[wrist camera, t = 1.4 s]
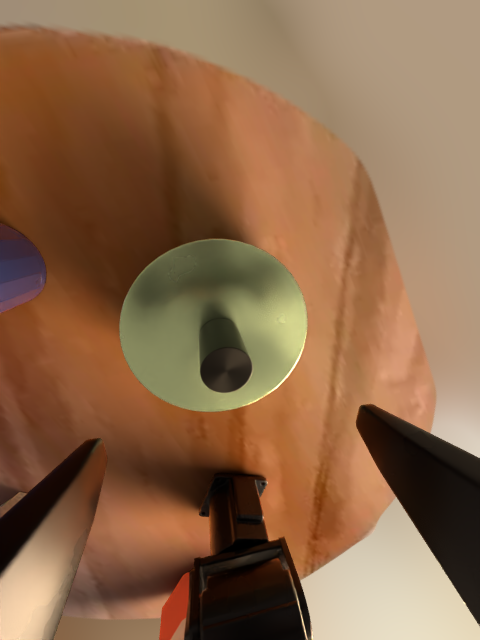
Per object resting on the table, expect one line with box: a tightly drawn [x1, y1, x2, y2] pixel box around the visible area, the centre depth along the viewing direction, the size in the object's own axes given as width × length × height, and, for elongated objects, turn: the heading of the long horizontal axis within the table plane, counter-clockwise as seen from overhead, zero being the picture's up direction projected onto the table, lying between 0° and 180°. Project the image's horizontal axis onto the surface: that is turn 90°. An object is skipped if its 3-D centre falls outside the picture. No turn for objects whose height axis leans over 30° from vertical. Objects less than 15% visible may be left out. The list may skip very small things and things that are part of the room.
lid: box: [119, 238, 307, 412], centre depth 14 cm, size 12×12×5 cm
